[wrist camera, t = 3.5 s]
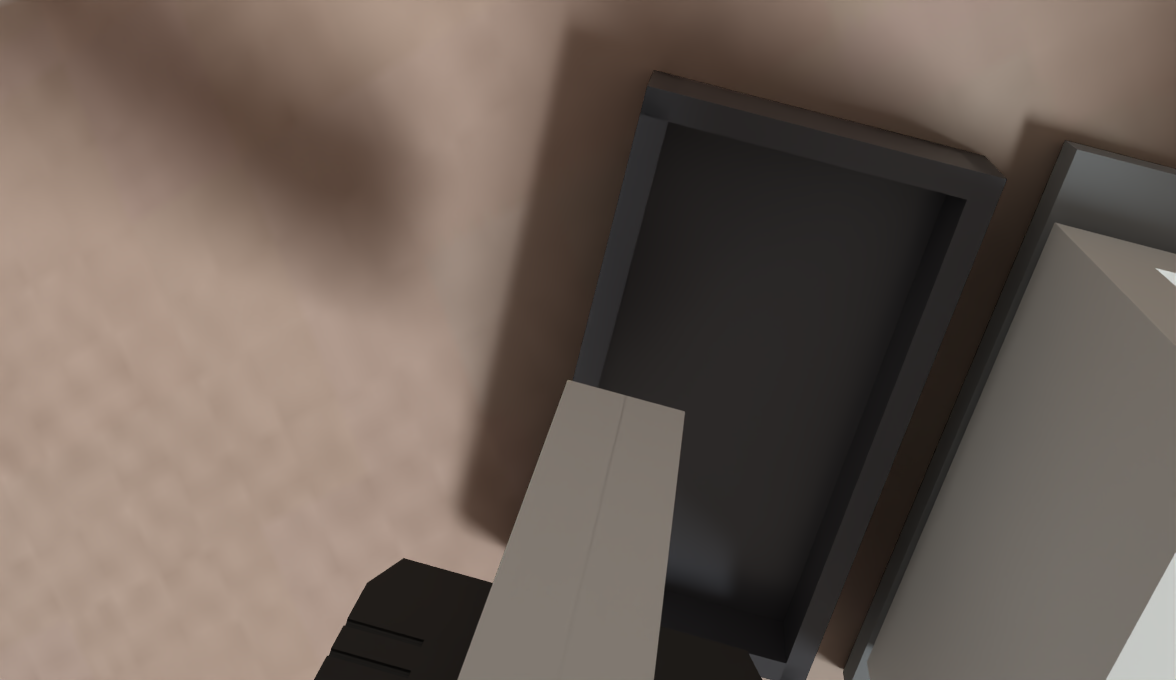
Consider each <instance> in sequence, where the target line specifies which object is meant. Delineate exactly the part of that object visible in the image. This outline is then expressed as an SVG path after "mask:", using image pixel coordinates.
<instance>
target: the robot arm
mask: <svg viewBox="0 0 1176 680" xmlns="http://www.w3.org/2000/svg"><path fill="white" fill-rule="evenodd" d="M684 416H685V411H681V410H677V409H674V408H670V407H666V406H663V405H659V404H655V403H652V402H648V401H644V400H641V399H637V398H633V397H630V396H626V395H622V394H619V393H615V392H611V391H608V390H604V389H600V388H597V387H593V386H589V385H585V384H582V383H578V382H574V381H571V380H567V383H566V385H565V388H564V391H563V394H562V396H561V399H560V402H559V404H558V407H557V410H556V413H555V415H554V418H553V421H552V424H551V426H550V429H549V432H548V434H547V437H546V440H545V443H544V445H543V448H542V451H541V454H540V456H539V459H538V462H537V464H536V467H535V470H534V473H533V475H532V478H531V481H530V483H529V486H528V489H527V492H526V494H525V497H524V500H523V503H522V505H521V508H520V511H519V513H518V516H517V519H516V522H515V524H514V527H513V530H512V533H511V535H510V538H509V541H508V543H507V546H506V549H505V552H504V554H503V557H502V560H501V562H500V565H499V568H498V571H497V573H496V576H495V579H494V582H493V583H491V582H487V581H483V580H480V579H476V578H473V577H469V576H466V575H462V574H458V573H455V572H451V571H448V570H444V569H440V568H437V567H433V566H430V565H426V564H423V563H419V562H415V561H412V560H408V559H405V558H403V559H402V560H400V561H399V562H397V563H396V564H395V565H393V566H392V567H390V568H389V569H387V570H386V571H384V572H383V573H381V574H380V575H378V576H377V577H375V578H374V579H372V580H371V581H369V582H368V583H367V584H366V586H365V588H364V590H363V591H362V593H361V595H360V597H359V599H358V601H357V602H356V604H355V606H354V608H353V610H352V611H351V613H350V615H349V617H348V619H347V623H346V625H345V626H343V628H342V630H341V631H340V633H339V635H338V637H337V639H336V641H335V642H334V644H333V646H332V648H331V651H330V654H329V656H327V657H326V659H325V661H324V662H323V664H322V666H321V668H320V670H319V671H318V673H317V675H316V677H315V679H314V680H762V678H761V676H760V674H759V672H758V671H757V669H756V667H755V665H754V663H753V661H752V659H751V657H750V655H749V653H748V651H747V650H744V649H740V648H737V647H733V646H729V645H726V644H722V643H719V642H715V641H712V640H708V639H704V638H701V637H697V636H694V635H690V634H686V633H683V632H679V631H676V630H672V629H668V628H665V627H661V626H660V622H661V614H662V605H663V597H664V588H665V580H666V571H667V562H668V554H669V545H670V537H671V528H672V519H673V511H674V502H675V494H676V485H677V476H678V468H679V459H680V451H681V442H682V433H683V425H684Z"/></svg>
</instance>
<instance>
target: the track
mask: <svg viewBox="0 0 1176 680" xmlns="http://www.w3.org/2000/svg"><path fill="white" fill-rule="evenodd" d="M1054 223H1059V224H1063V225H1066V226H1070V227H1074V228H1078V229H1082V230H1086V231H1090V232H1093V233H1097V234H1101V235H1105V236H1109V237H1113V238H1116V239H1120V240H1124V241H1128V242H1132V243H1136V244H1139V245H1143V246H1147V247H1151V248H1155V249H1159V250H1162V251H1166V252H1170V253H1174V254H1176V169H1174V168H1170V167H1166V166H1163V165H1159V164H1155V163H1151V162H1147V161H1143V160H1139V159H1135V158H1132V157H1128V156H1124V155H1120V154H1116V153H1112V152H1108V151H1105V150H1101V149H1097V148H1093V147H1089V146H1085V145H1081V144H1077V143H1074V142H1070V141H1066V140H1065V142H1064V145H1063V147H1062V149H1061V152H1060V154H1059V157H1058V159H1057V161H1056V164H1055V166H1054V168H1053V171H1052V173H1051V176H1050V178H1049V180H1048V183H1047V185H1046V188H1045V190H1044V192H1043V195H1042V197H1041V200H1040V202H1039V204H1038V207H1037V209H1036V212H1035V214H1034V216H1033V219H1032V221H1031V223H1030V226H1029V228H1028V231H1027V233H1026V235H1025V238H1024V240H1023V243H1022V245H1021V247H1020V250H1019V252H1018V255H1017V257H1016V259H1015V262H1014V264H1013V266H1012V269H1011V271H1010V274H1009V276H1008V278H1007V281H1006V283H1005V286H1004V288H1003V290H1002V293H1001V295H1000V298H999V300H998V302H997V305H996V307H995V310H994V312H993V314H992V317H991V319H990V321H989V324H988V326H987V329H986V331H985V333H984V336H983V338H982V341H981V343H980V345H979V348H978V350H977V353H976V355H975V357H974V360H973V362H972V364H971V367H970V369H969V372H968V374H967V376H966V379H965V381H964V384H963V386H962V388H961V391H960V393H959V396H958V398H957V400H956V403H955V405H954V408H953V410H952V412H951V415H950V417H949V419H948V422H947V424H946V427H945V429H944V431H943V434H942V436H941V439H940V441H939V443H938V446H937V448H936V451H935V453H934V455H933V458H932V460H931V462H930V465H929V467H928V470H927V472H926V474H925V477H924V479H923V482H922V484H921V486H920V489H919V491H918V494H917V496H916V498H915V501H914V503H913V506H912V508H911V510H910V513H909V515H908V517H907V520H906V522H905V525H904V527H903V529H902V532H901V534H900V537H899V539H898V541H897V544H896V546H895V549H894V551H893V553H892V556H891V558H890V560H889V563H888V565H887V568H886V570H885V572H884V575H883V577H882V580H881V582H880V584H879V587H878V589H877V592H876V594H875V596H874V599H873V601H872V604H871V606H870V608H869V611H868V613H867V615H866V618H865V620H864V623H863V625H862V627H861V630H860V632H859V635H858V637H857V639H856V642H855V644H854V647H853V649H852V651H851V654H850V656H849V658H848V661H847V663H846V666H845V668H844V670H843V675H844V680H870V677H869V671H868V665H867V660H868V658H869V655H870V653H871V651H872V648H873V646H874V644H875V641H876V639H877V637H878V634H879V632H880V630H881V627H882V625H883V623H884V620H885V618H886V616H887V613H888V611H889V609H890V606H891V604H892V602H893V599H894V597H895V595H896V592H897V590H898V588H899V585H900V583H901V581H902V578H903V576H904V573H905V571H906V569H907V566H908V564H909V562H910V559H911V557H912V555H913V552H914V550H915V548H916V545H917V543H918V541H919V538H920V536H921V534H922V531H923V529H924V527H925V524H926V522H927V520H928V517H929V515H930V513H931V510H932V508H933V506H934V503H935V501H936V499H937V496H938V494H939V492H940V489H941V487H942V485H943V482H944V480H945V478H946V475H947V473H948V471H949V468H950V466H951V464H952V461H953V459H954V457H955V454H956V452H957V450H958V447H959V445H960V443H961V440H962V438H963V436H964V433H965V431H966V429H967V426H968V424H969V422H970V419H971V417H972V415H973V412H974V410H975V408H976V405H977V403H978V401H979V398H980V396H981V393H982V391H983V389H984V386H985V384H986V382H987V379H988V377H989V375H990V372H991V370H992V368H993V365H994V363H995V361H996V358H997V356H998V354H999V351H1000V349H1001V347H1002V344H1003V342H1004V340H1005V337H1006V335H1007V333H1008V330H1009V328H1010V326H1011V323H1012V321H1013V319H1014V316H1015V314H1016V312H1017V309H1018V307H1019V305H1020V302H1021V300H1022V298H1023V295H1024V293H1025V291H1026V288H1027V286H1028V284H1029V281H1030V279H1031V277H1032V274H1033V272H1034V270H1035V267H1036V265H1037V263H1038V260H1039V258H1040V256H1041V253H1042V251H1043V249H1044V246H1045V244H1046V242H1047V239H1048V237H1049V235H1050V232H1051V230H1052V228H1053V225H1054Z"/></svg>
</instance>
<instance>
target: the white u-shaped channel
mask: <svg viewBox="0 0 1176 680" xmlns="http://www.w3.org/2000/svg"><path fill="white" fill-rule="evenodd" d="M867 665H868V671H869V677H870V680H1176V254H1174V253H1170V252H1166V251H1162V250H1159V249H1155V248H1151V247H1147V246H1143V245H1139V244H1136V243H1132V242H1128V241H1124V240H1120V239H1116V238H1113V237H1109V236H1105V235H1101V234H1097V233H1093V232H1090V231H1086V230H1082V229H1078V228H1074V227H1070V226H1066V225H1063V224H1059V223H1054V225H1053V228H1052V230H1051V232H1050V235H1049V237H1048V239H1047V242H1046V244H1045V246H1044V249H1043V251H1042V253H1041V256H1040V258H1039V260H1038V263H1037V265H1036V267H1035V270H1034V272H1033V274H1032V277H1031V279H1030V281H1029V284H1028V286H1027V288H1026V291H1025V293H1024V295H1023V298H1022V300H1021V302H1020V305H1019V307H1018V309H1017V312H1016V314H1015V316H1014V319H1013V321H1012V323H1011V326H1010V328H1009V330H1008V333H1007V335H1006V337H1005V340H1004V342H1003V344H1002V347H1001V349H1000V351H999V354H998V356H997V358H996V361H995V363H994V365H993V368H992V370H991V372H990V375H989V377H988V379H987V382H986V384H985V386H984V389H983V391H982V393H981V396H980V398H979V401H978V403H977V405H976V408H975V410H974V412H973V415H972V417H971V419H970V422H969V424H968V426H967V429H966V431H965V433H964V436H963V438H962V440H961V443H960V445H959V447H958V450H957V452H956V454H955V457H954V459H953V461H952V464H951V466H950V468H949V471H948V473H947V475H946V478H945V480H944V482H943V485H942V487H941V489H940V492H939V494H938V496H937V499H936V501H935V503H934V506H933V508H932V510H931V513H930V515H929V517H928V520H927V522H926V524H925V527H924V529H923V531H922V534H921V536H920V538H919V541H918V543H917V545H916V548H915V550H914V552H913V555H912V557H911V559H910V562H909V564H908V566H907V569H906V571H905V573H904V576H903V578H902V581H901V583H900V585H899V588H898V590H897V592H896V595H895V597H894V599H893V602H892V604H891V606H890V609H889V611H888V613H887V616H886V618H885V620H884V623H883V625H882V627H881V630H880V632H879V634H878V637H877V639H876V641H875V644H874V646H873V648H872V651H871V653H870V655H869V658H868V660H867Z"/></svg>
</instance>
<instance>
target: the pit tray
mask: <svg viewBox="0 0 1176 680" xmlns="http://www.w3.org/2000/svg"><path fill="white" fill-rule="evenodd" d="M1006 181H1007V179H1006V178H1005V177H1004V176H1003V174H1002V173H1001V172H1000V171H999V170H998V169H997V168H996V167H995V166H994V165H993V164H992V163H991V162H990V161H989V160H988V159H987V158H986V157H985V156H983V155H979V154H975V153H971V152H967V151H964V150H960V149H956V148H952V147H948V146H944V145H940V144H937V143H933V142H929V141H925V140H921V139H917V138H913V137H910V136H906V135H902V134H898V133H894V132H890V131H886V130H883V129H879V128H875V127H871V126H867V125H863V124H860V123H856V122H852V121H848V120H844V119H840V118H836V117H833V116H829V115H825V114H821V113H817V112H813V111H809V110H806V109H802V108H798V107H794V106H790V105H786V104H782V103H779V102H775V101H771V100H767V99H763V98H759V97H755V96H752V95H748V94H744V93H740V92H736V91H732V90H728V89H725V88H721V87H717V86H713V85H709V84H705V83H701V82H698V81H694V80H690V79H686V78H682V77H678V76H674V75H671V74H667V73H663V72H659V71H655V70H654V72H653V74H652V76H651V78H650V81H649V83H648V85H647V89H646V93H645V97H644V101H643V105H642V108H641V112H640V116H639V120H638V124H637V128H636V132H635V136H634V140H633V144H632V148H631V152H630V156H629V160H628V164H627V168H626V172H625V176H624V180H623V184H622V188H621V192H620V195H619V199H618V203H617V207H616V211H615V215H614V219H613V223H612V227H611V231H610V235H609V239H608V243H607V247H606V251H605V255H604V259H603V263H602V267H601V271H600V275H599V279H598V282H597V286H596V290H595V294H594V298H593V302H592V306H591V310H590V314H589V318H588V322H587V326H586V330H585V334H584V338H583V342H582V346H581V350H580V354H579V358H578V362H577V366H576V370H575V373H574V377H573V381H574V382H578V383H582V384H585V385H589V386H593V387H597V388H600V389H604V390H608V391H611V392H615V393H619V394H622V395H626V396H630V397H633V398H637V399H641V400H644V401H648V402H652V403H655V404H659V405H663V406H666V407H670V408H674V409H677V410H681V411H685V416H684V425H683V433H682V442H681V451H680V459H679V468H678V476H677V485H676V494H675V502H674V511H673V519H672V528H671V537H670V545H669V554H668V562H667V571H666V580H665V588H664V597H663V605H662V614H661V622H660V626H661V627H665V628H668V629H672V630H676V631H679V632H683V633H686V634H690V635H694V636H697V637H701V638H704V639H708V640H712V641H715V642H719V643H722V644H726V645H729V646H733V647H737V648H740V649H744V650H747V651H748V653H749V655H750V657H751V659H752V661H753V663H754V665H755V667H756V669H757V671H758V672H759V674H760V676H761V677H763V678H767V679H770V680H806V678H807V676H808V673H809V671H810V668H811V666H812V663H813V661H814V658H815V656H816V653H817V651H818V648H819V646H820V643H821V641H822V638H823V636H824V633H825V631H826V628H827V626H828V623H829V621H830V618H831V616H832V613H833V611H834V608H835V606H836V603H837V601H838V598H839V596H840V594H841V591H842V589H843V586H844V584H845V581H846V579H847V576H848V574H849V571H850V569H851V566H852V564H853V561H854V559H855V556H856V554H857V551H858V549H859V546H860V544H861V541H862V539H863V536H864V534H865V531H866V529H867V526H868V524H869V521H870V519H871V516H872V514H873V511H874V509H875V506H876V504H877V501H878V499H879V497H880V494H881V492H882V489H883V487H884V484H885V482H886V479H887V477H888V474H889V472H890V469H891V467H892V464H893V462H894V459H895V457H896V454H897V452H898V449H899V447H900V444H901V442H902V439H903V437H904V434H905V432H906V429H907V427H908V424H909V422H910V419H911V417H912V414H913V412H914V409H915V407H916V404H917V402H918V399H919V397H920V395H921V392H922V390H923V387H924V385H925V382H926V380H927V377H928V375H929V372H930V370H931V367H932V365H933V362H934V360H935V357H936V355H937V352H938V350H939V347H940V345H941V342H942V340H943V337H944V335H945V332H946V330H947V327H948V325H949V322H950V320H951V317H952V315H953V312H954V310H955V307H956V305H957V302H958V300H959V298H960V295H961V293H962V290H963V288H964V285H965V283H966V280H967V278H968V275H969V273H970V270H971V268H972V265H973V263H974V260H975V258H976V255H977V253H978V250H979V248H980V245H981V243H982V240H983V238H984V235H985V233H986V230H987V228H988V225H989V223H990V220H991V218H992V215H993V213H994V210H995V208H996V205H997V203H998V201H999V198H1000V196H1001V193H1002V191H1003V188H1004V186H1005V183H1006Z"/></svg>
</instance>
